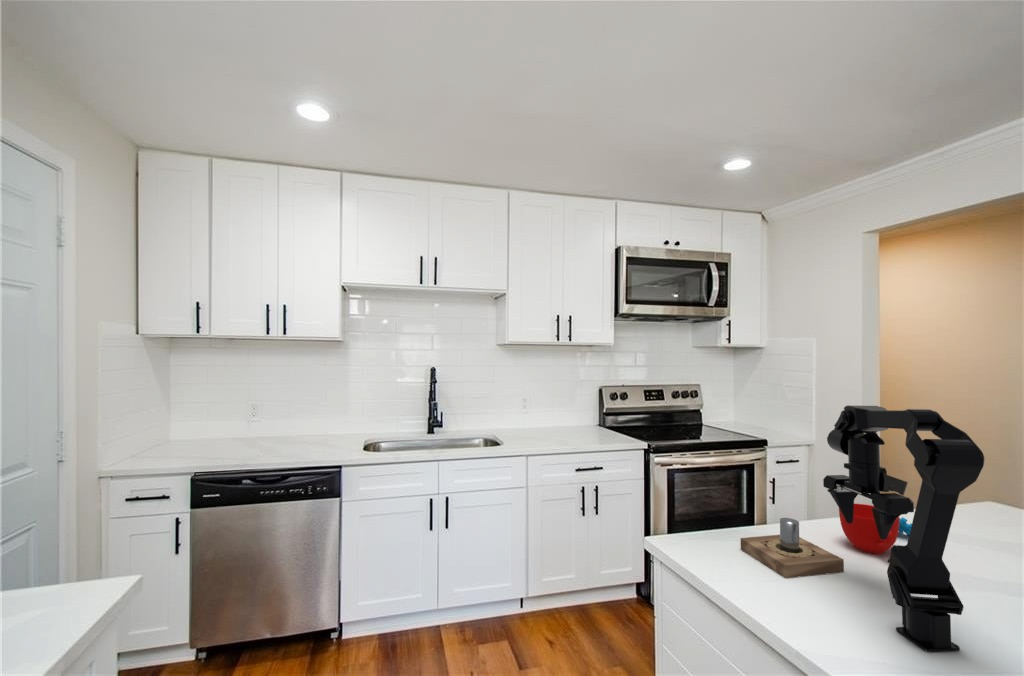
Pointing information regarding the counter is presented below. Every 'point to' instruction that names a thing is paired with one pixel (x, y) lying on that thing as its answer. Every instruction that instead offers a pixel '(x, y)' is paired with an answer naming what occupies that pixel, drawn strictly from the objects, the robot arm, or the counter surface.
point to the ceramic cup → (867, 531)
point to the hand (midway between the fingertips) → (865, 530)
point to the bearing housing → (792, 557)
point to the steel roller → (789, 535)
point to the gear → (904, 526)
